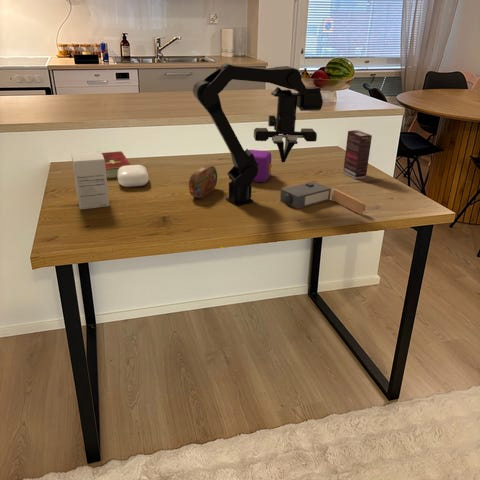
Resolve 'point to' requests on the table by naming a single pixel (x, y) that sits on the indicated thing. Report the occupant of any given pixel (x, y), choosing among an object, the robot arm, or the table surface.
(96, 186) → the supplement box
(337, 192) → the side door
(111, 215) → the table surface
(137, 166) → the earbud case
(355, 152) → the supplement box
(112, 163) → the hardcover book
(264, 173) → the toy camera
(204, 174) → the tin
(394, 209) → the table surface
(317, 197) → the block
